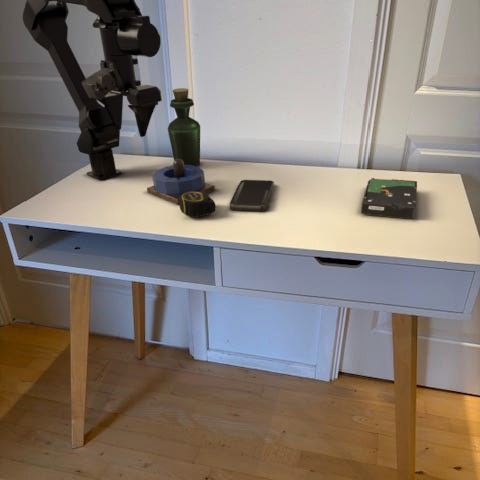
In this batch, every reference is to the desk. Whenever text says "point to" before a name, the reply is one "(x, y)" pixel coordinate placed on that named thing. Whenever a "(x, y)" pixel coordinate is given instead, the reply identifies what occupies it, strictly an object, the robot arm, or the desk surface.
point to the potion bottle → (184, 130)
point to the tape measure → (196, 204)
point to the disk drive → (390, 198)
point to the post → (178, 173)
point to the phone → (252, 195)
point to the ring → (178, 180)
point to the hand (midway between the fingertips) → (130, 133)
